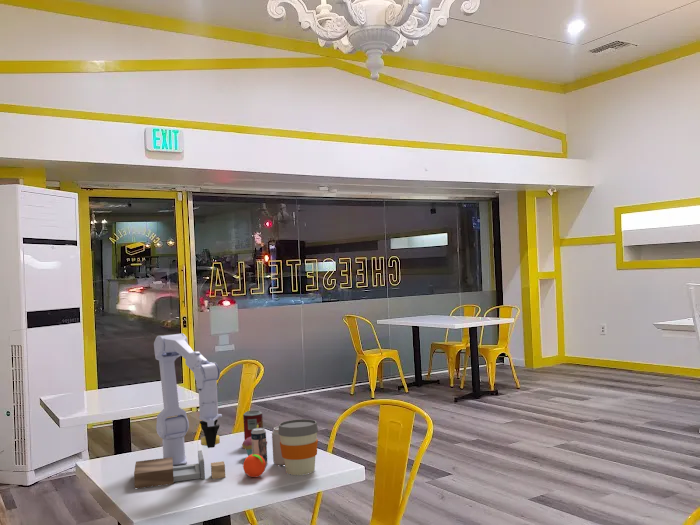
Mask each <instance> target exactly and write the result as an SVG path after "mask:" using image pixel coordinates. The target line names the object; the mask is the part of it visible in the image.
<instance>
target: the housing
mask: <svg viewBox="0 0 700 525" xmlns="http://www.w3.org/2000/svg"><path fill="white" fill-rule="evenodd" d="M173 467H174V465H173V459H172V457H170V458H163V457H162V458H155V459H148V460H146V459H145V460H139V461H135V465H134V472H133V483H134V489H135V488H138V489H144V487H146V488H151V486H153V487H159V486H158V485H161V486H166V484H168V485H174V484H175V482H174V479H173Z"/></svg>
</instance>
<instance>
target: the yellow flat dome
mask: <svg viewBox="0 0 700 525" xmlns="http://www.w3.org/2000/svg"><path fill="white" fill-rule="evenodd" d="M220 443H221V441H220V435H218V434H217V435H216V442H215V446H216V445H218V444H220ZM200 444H201V446H206V447H207V443H206V438H205V436H204V435H203V436H201V437H200Z"/></svg>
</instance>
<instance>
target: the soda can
mask: <svg viewBox="0 0 700 525" xmlns="http://www.w3.org/2000/svg"><path fill="white" fill-rule="evenodd" d="M242 416H243V436H244V437H243V438H244V441H245V440H246V439H247V438H249V437H251V432H252V430H253V429H255V428H257V425H259V427H258V428H264V420H263V418H264V417H263V412H262V411H260V410H247V411H245V413H243V415H242Z"/></svg>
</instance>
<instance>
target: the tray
mask: <svg viewBox="0 0 700 525" xmlns="http://www.w3.org/2000/svg"><path fill="white" fill-rule="evenodd" d="M197 459H198V460H197V461H198V463H192V464H181V465H173V479H174V483H175V482H176V483H177V482H181V481H182V482H183V481H189V480H198V479H200V480H203V479H204V480H205V478H206V475H205V474H206V473H205V459H204V455H203V451H202V450H197Z"/></svg>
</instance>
